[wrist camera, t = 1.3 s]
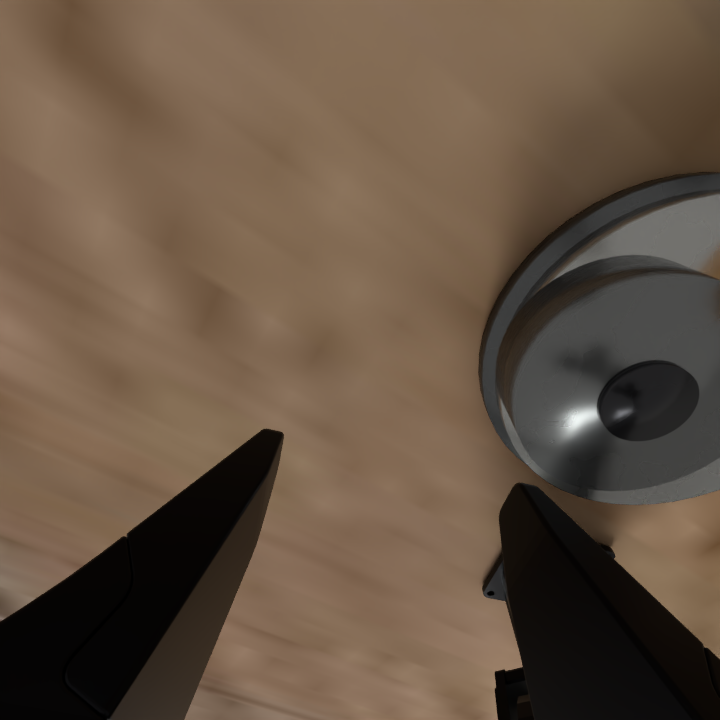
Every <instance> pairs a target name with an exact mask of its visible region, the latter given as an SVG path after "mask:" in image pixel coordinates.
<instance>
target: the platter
mask: <svg viewBox="0 0 720 720" xmlns="http://www.w3.org/2000/svg"><path fill="white" fill-rule="evenodd" d="M622 255H649V256H655V257H660V258H665V259H668V260H671V261H674V262H676V263H679V264H682V265H684V266H687V267H689V268H692V269H694V270H697V271H699V272H702V273H704V274H707V275H709V276H712V277H714V278H717V279H719V280H720V189H715V190H705V191H695V192H691V193H686V194H682V195H677V196H673V197H668V198H665V199H662V200H659V201H656V202H653V203H651V204H648V205H645V206H642V207H639V208H637V209H635V210H633V211H631V212H629V213H626V214H624V215H622V216H620V217H618V218H616V219H614V220H612V221H610V222H609V223H607V224H605V225H604V226H602V227H600V228H599V229H597V230H595V231H594V232H592V233H590V234H589V235H587V236H586V237H585V238H584V239H582V240H581V241H580V242H578V243H577V244H576V245H574V246H573V247H572V248H570V249H569V250H568V251H566V252H565V253H564V254H563V255H562V256H561V257H560V258H559V259H558V260H557V261H556V262H555V263H554V264H553V265H551V266H550V267H549V268H548V269H547V270H546V271H545V273H544V274H543V275H542V276H541V277H540V278H539V280H538V281H537V282H536V283H535V284H534V285H533V287H532V288H531V289H530V290H529V292H528V293H527V295H526V296H525V298H524V299H523V301H522V302H521V304H520V305H519V307H518V308H517V310H516V312H515V314H514V316H513V318H512V320H513V319H514V317H515V316H516V314H517V313H518V312H519V311H520V309H521V308H522V307H523V306H524V305H525V304H526V302H527V301H528V300H529V299H530V298H532V297H533V296H534V295H535V294H536V293H537V292H538V291H539V290H540V289H542V288H543V287H544V286H546V285H547V284H548V283H550V282H551V281H553V280H554V279H556V278H558V277H559V276H561V275H563V274H565V273H566V272H568V271H570V270H573V269H575V268H577V267H579V266H582V265H584V264H587V263H590V262H593V261H596V260H599V259H604V258H609V257H614V256H622ZM512 320H511V321H510V323H511V322H512ZM510 323H509V325H510ZM509 325H508V327H509ZM508 327H507V329H508ZM506 331H507V330H506ZM495 392H496V402H497V406H498V409H499V413H500V417H501V419H502V422H503V424H504V426H505V428H506V431H507V433H508V435H509V437H510V440H511V442H512V444H513V446H514V448H515V449H516V451H517V452H518V454H519V455H520V457H521V458H522V460H523V461H524V462H525V463H526V464H527V465H528V466H529V467H530V468H531V469H532V470H533V471H534V472H535V473H536V474H538V475H539V476H540V477H542V478H543V479H544V480H545V481H547V482H548V483H550V484H552V485H554V486H556V487H557V488H559V489H561V490H563V491H566V492H568V493H571V494H573V495H576V496H579V497H582V498H586V499H590V500H593V501H599V502H605V503H611V504H626V505H642V504H658V503H666V502H674V501H678V500H683V499H688V498H693V497H697V496H700V495H704V494H707V493H710V492H714V491H717V490H720V458H719V459H717V460H715V461H714V462H712V463H710V464H709V465H707V466H705V467H704V468H701V469H699V470H697V471H695V472H693V473H691V474H689V475H687V476H684V477H682V478H679V479H677V480H674V481H671V482H668V483H664V484H661V485H658V486H653V487H648V488H644V489H637V490H629V491H599V490H592V489H586V488H581V487H578V486H574V485H570V484H568V483H566V482H563V481H561V480H558V479H557V478H555V477H553V476H551V475H550V474H548V473H547V472H545V471H544V470H543V469H541V468H540V467H539V466H538V465H537V464H536V463H535V462H534V461H533V460H532V459H531V458H530V456H529V455H528V453H527V452H526V450H525V449H524V447H523V445H522V443H521V441H520V439H519V436H518V434H517V432H516V430H515V428H514V426H513V424H512V422H511V420H510V417H509V415H508V413H507V411H506V409H505V407H504V405H503V402H502V400H501V398H500V396H499V392H498V388H497V384H496V374H495Z"/></svg>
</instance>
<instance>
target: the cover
mask: <svg viewBox="0 0 720 720" xmlns="http://www.w3.org/2000/svg"><path fill="white" fill-rule="evenodd" d="M495 374H496V384H497V388H498V392H499V396H500V398H501V400H502V402H503V405H504V407H505V409H506V411H507V413H508V415H509V417H510V420H511V422H512V424H513V426H514V428H515V430H516V432H517V434H518V436H519V439H520V441H521V443H522V445H523V447H524V449H525V450H526V452H527V453H528V455H529V456H530V458H531V459H532V460H533V461H534V462H535V463H536V464H537V465H538V466H539V467H540V468H541V469H543V470H544V471H545V472H547V473H548V474H550V475H551V476H553V477H555V478H557V479H558V480H561V481H563V482H566V483H568V484H570V485H574V486H578V487H581V488H586V489H592V490H599V491H629V490H637V489H644V488H648V487H653V486H658V485H661V484H664V483H668V482H671V481H674V480H677V479H679V478H682V477H684V476H687V475H689V474H691V473H693V472H695V471H697V470H699V469H701V468H704V467H705V466H707V465H709V464H710V463H712V462H714V461H715V460H717V459H719V458H720V280H719V279H717V278H714V277H712V276H709V275H707V274H704V273H702V272H699V271H697V270H694V269H692V268H689V267H687V266H684V265H682V264H679V263H676V262H674V261H671V260H668V259H665V258H660V257H655V256H649V255H622V256H614V257H609V258H604V259H599V260H596V261H593V262H590V263H587V264H584V265H582V266H579V267H577V268H575V269H573V270H570V271H568V272H566V273H565V274H563V275H561V276H559V277H558V278H556V279H554V280H553V281H551V282H550V283H548V284H547V285H546V286H544V287H543V288H542V289H540V290H539V291H538V292H537V293H536V294H535V295H534V296H533V297H532V298H530V299H529V300H528V301H527V302H526V304H525V305H524V306H523V307H522V308H521V309H520V311H519V312H518V313H517V314H516V316H515V317H514V319H513V320H512V322H511V323H510V325H509V327H508V329H507V331H506V332H505V334H504V336H503V339H502V342H501V344H500V347H499V350H498V355H497V360H496V372H495Z"/></svg>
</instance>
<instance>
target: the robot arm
mask: <svg viewBox="0 0 720 720" xmlns="http://www.w3.org/2000/svg"><path fill="white" fill-rule="evenodd" d="M283 439H284V434H283V433H282V432H280V431H275V430H271V429H263V430H261V431H260V432H259V433H257V434H256V435H255V436H253V437H252V438H251V439H250V440H248V441H247V442H246V443H244V444H243V445H242V446H240V447H239V448H238V449H236V450H235V451H234V452H233V453H231V454H230V455H229V456H227V457H226V458H225V459H223V460H222V461H221V462H220V463H218V464H217V465H216V466H214V467H213V468H212V469H210V470H209V471H208V472H206V473H205V474H204V475H203V476H201V477H200V478H199V479H197V480H196V481H195V482H193V483H192V484H191V485H190V486H188V487H187V488H186V489H184V490H183V491H182V492H180V493H179V494H178V495H176V496H175V497H174V498H173V499H171V500H170V501H169V502H167V503H166V504H165V505H163V506H162V507H161V508H160V509H158V510H157V511H156V512H154V513H153V514H152V515H150V516H149V517H148V518H147V519H145V520H144V521H143V522H141V523H140V524H139V525H137V526H136V527H135V528H133V529H132V530H131V531H130V532H128V533H127V537H125V536H123V537H121V538H120V539H119V540H117V541H116V542H115V543H114V544H112V545H111V546H110V547H108V548H107V549H106V550H104V551H103V552H102V553H100V554H99V555H98V556H96V557H95V558H94V559H92V560H91V561H89V562H88V563H87V564H85V565H84V566H83V567H81V568H80V569H79V570H77V571H76V572H74V573H73V574H72V575H70V576H69V577H68V578H66V579H65V580H63V581H62V582H60V583H59V584H57V585H56V586H54V587H53V588H51V589H50V590H48V591H47V592H45V593H44V594H42V595H41V596H39V597H38V598H36V599H35V600H33V601H32V602H30V603H29V604H27V605H26V606H24V607H23V608H21V609H19V610H18V611H16V612H15V613H13V614H12V615H10V616H9V617H7V618H5V619H4V620H2V621H1V622H0V720H184V719H185V716H186V714H187V711H188V709H189V707H190V704H191V702H192V699H193V697H194V695H195V692H196V690H197V687H198V685H199V682H200V680H201V678H202V675H203V673H204V670H205V668H206V666H207V663H208V661H209V658H210V656H211V654H212V651H213V649H214V646H215V644H216V641H217V639H218V637H219V634H220V632H221V629H222V627H223V625H224V622H225V620H226V617H227V615H228V613H229V610H230V608H231V605H232V603H233V600H234V598H235V596H236V593H237V591H238V588H239V586H240V584H241V581H242V579H243V576H244V574H245V572H246V569H247V567H248V564H249V562H250V559H251V557H252V555H253V552H254V549H255V547H256V544H257V541H258V538H259V535H260V531H261V528H262V524H263V521H264V517H265V513H266V510H267V506H268V503H269V499H270V496H271V492H272V489H273V485H274V481H275V478H276V474H277V470H278V466H279V461H280V456H281V450H282V445H283ZM499 525H500V534H501V544H502V555H501V556H500V558H499V560H498V561H497V563H496V565H495V567H494V568H493V570H492V572H491V573H490V575H489V577H488V578H487V580H486V582H485V583H484V585H483V587H482V590H483V594H484V596H485V597H487V598H492V599H497V600H502V601H506V604H507V608H508V612H509V615H510V619H511V623H512V626H513V630H514V634H515V637H516V641H517V645H518V648H519V652H520V656H521V660H522V665H523V667H521V668H517V669H513V670H508V671H505V670H499V671H495V680H496V688H495V696H496V705H497V715H498V720H720V659H719V658H718V657H717V656H716V655H715V654H713V653H712V652H711V651H710V650H709V649H708V648H704V646H703V644H702V642H701V641H700V640H699V639H698V638H696V637H695V636H694V635H693V634H692V633H691V632H690V631H689V630H688V629H687V628H686V627H685V626H684V625H683V624H682V623H681V622H680V621H679V620H677V619H676V618H675V617H674V616H673V615H672V614H671V613H670V612H669V611H668V610H667V609H666V608H665V607H664V606H663V605H662V604H661V603H660V602H659V601H657V600H656V599H655V598H654V597H653V596H652V595H651V594H650V593H649V592H648V591H647V590H646V589H645V588H644V587H643V586H642V585H641V584H640V583H638V582H637V581H636V580H635V579H634V578H633V577H632V576H631V575H630V574H629V573H628V572H627V571H626V570H625V569H624V568H623V567H622V566H621V565H619V564H618V563H617V562H616V561H615V560H614V558H615V554H614V552H613V550H612V549H611V548H610V547H608V546H604V545H599V544H597V543H596V542H595V541H594V540H593V539H592V538H591V537H590V536H589V535H588V534H587V533H586V532H585V531H584V530H583V529H582V528H580V527H579V526H578V525H577V524H576V523H575V522H574V521H573V520H572V519H571V518H570V517H569V516H568V515H567V514H566V513H565V512H564V511H563V510H561V509H560V508H559V507H558V506H557V505H556V504H555V503H554V502H553V501H552V500H551V499H550V498H549V497H548V496H547V495H546V494H545V493H544V492H543V491H541V490H540V489H539V488H538V487H536V486H534V485H529V484H524V483H517V484H515V485H514V486H513V488H512V490H511V491H510V493H509V495H508V497H507V499H506V500H505V502H504V504H503V506H502V508H501V510H500V514H499Z"/></svg>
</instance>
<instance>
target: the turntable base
mask: <svg viewBox="0 0 720 720" xmlns="http://www.w3.org/2000/svg"><path fill="white" fill-rule="evenodd" d="M715 189H720V173H718V172H699V173H689V174H679V175H673V176H669V177H664V178H660V179H656V180H651V181H647V182H644V183H642V184H639V185H636V186H633V187H630V188H628V189H625V190H622V191H619V192H617V193H615V194H613V195H611V196H609V197H607V198H605V199H603V200H601V201H599V202H597V203H595V204H593V205H591V206H590V207H588V208H587V209H585V210H583V211H582V212H580V213H579V214H577V215H575V216H574V217H572V218H571V219H569V220H568V221H567V222H565V223H564V224H563V225H561V226H560V227H559V228H558V229H556V230H555V231H554V232H553V233H551V234H550V235H549V236H547V237H546V238H545V239H544V240H543V241H542V242H541V243H540V244H539V245H538V246H537V247H536V248H535V249H534V250H533V251H532V252H531V253H530V254H529V255H528V256H527V257H526V259H525V260H524V261H523V262H522V263H521V265H520V266H519V267H518V268H517V270H516V271H515V272H514V273H513V274H512V276H511V277H510V279H509V281H508V282H507V284H506V285H505V287H504V288H503V290H502V291H501V293H500V295H499V296H498V298H497V301H496V303H495V305H494V307H493V309H492V311H491V313H490V315H489V318H488V321H487V324H486V327H485V330H484V333H483V336H482V342H481V347H480V352H479V371H478V374H479V382H480V390H481V394H482V397H483V401H484V404H485V407H486V410H487V412H488V415H489V417H490V419H491V422H492V424H493V426H494V428H495V430H496V432H497V434H498V435H499V436H500V438H501V439H502V441H503V442H504V444H505V445H506V446H507V447H508V448H509V449H510V450H511V451H512V452H513V453H514V454H515V456H516V457H518V458H519V459H520V460H521V461H523V460H522V458H521V457H520V455H519V454H518V452H517V451H516V449H515V448H514V446H513V444H512V442H511V440H510V437H509V435H508V433H507V431H506V428H505V426H504V424H503V422H502V419H501V417H500V413H499V409H498V406H497V402H496V392H495V372H496V360H497V355H498V350H499V347H500V344H501V342H502V339H503V336H504V334H505V332H506V330H507V327H508V325H509V323H510V321H511V320H512V318H513V316H514V314H515V312H516V310H517V308H518V307H519V305H520V304H521V302H522V301H523V299H524V298H525V296H526V295H527V293H528V292H529V290H530V289H531V288H532V287H533V285H534V284H535V283H536V282H537V281H538V280H539V278H540V277H541V276H542V275H543V274H544V273H545V271H546V270H547V269H548V268H549V267H550V266H551V265H553V264H554V263H555V262H556V261H557V260H558V259H559V258H560V257H561V256H562V255H563V254H564V253H565V252H566V251H568V250H569V249H570V248H572V247H573V246H574V245H576V244H577V243H578V242H580V241H581V240H582V239H584V238H585V237H586V236H587V235H589V234H590V233H592V232H594V231H595V230H597V229H599V228H600V227H602V226H604V225H605V224H607V223H609V222H610V221H612V220H614V219H616V218H618V217H620V216H622V215H624V214H626V213H629V212H631V211H633V210H635V209H637V208H639V207H642V206H645V205H648V204H651V203H653V202H656V201H659V200H662V199H665V198H668V197H673V196H677V195H682V194H686V193H691V192H695V191H705V190H715ZM523 462H524V461H523ZM524 463H525V462H524ZM525 464H526V463H525Z"/></svg>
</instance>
